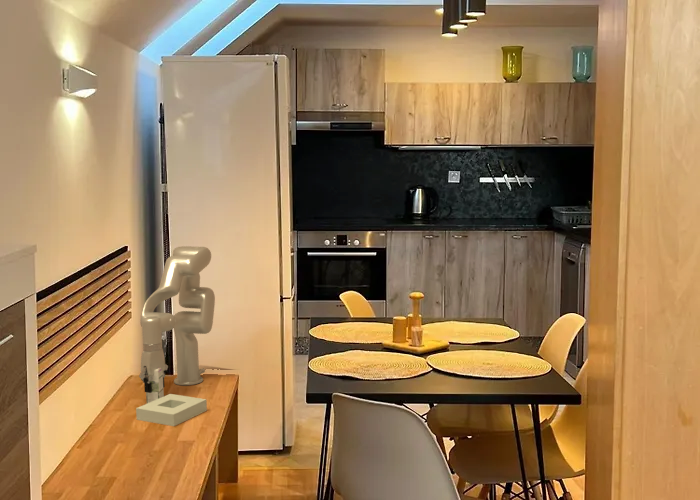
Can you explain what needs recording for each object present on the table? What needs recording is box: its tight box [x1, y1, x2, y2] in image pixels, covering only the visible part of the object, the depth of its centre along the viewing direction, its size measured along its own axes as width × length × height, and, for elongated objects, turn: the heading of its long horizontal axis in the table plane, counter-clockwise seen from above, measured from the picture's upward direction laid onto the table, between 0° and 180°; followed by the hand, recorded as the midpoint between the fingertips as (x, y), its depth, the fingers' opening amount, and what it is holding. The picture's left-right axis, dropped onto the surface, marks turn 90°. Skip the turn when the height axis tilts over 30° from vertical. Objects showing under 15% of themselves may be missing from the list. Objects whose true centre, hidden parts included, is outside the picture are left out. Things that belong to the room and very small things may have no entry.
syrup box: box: [145, 368, 165, 404], centre depth 331 cm, size 6×6×14 cm
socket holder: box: [135, 393, 208, 427], centre depth 315 cm, size 20×18×4 cm
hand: (154, 389), depth 331 cm, fingers closed on syrup box, 7 cm apart
